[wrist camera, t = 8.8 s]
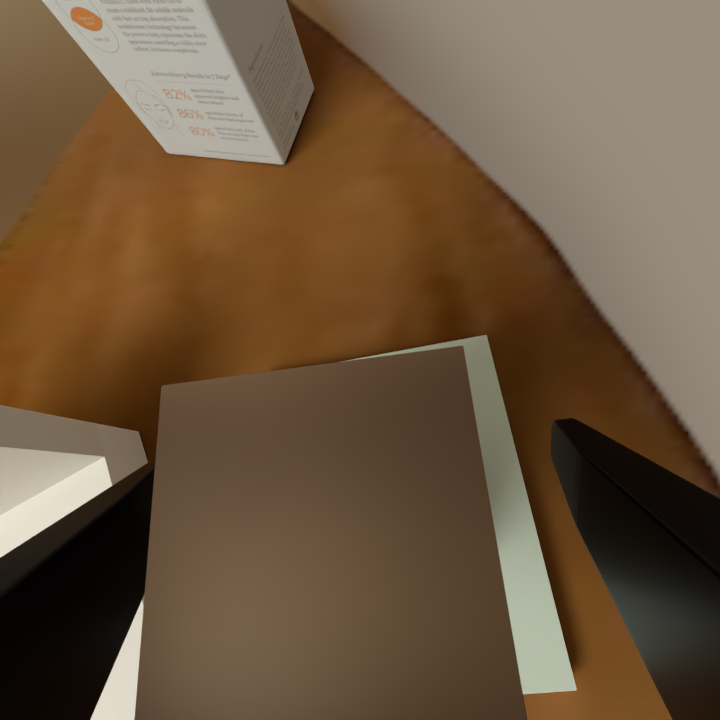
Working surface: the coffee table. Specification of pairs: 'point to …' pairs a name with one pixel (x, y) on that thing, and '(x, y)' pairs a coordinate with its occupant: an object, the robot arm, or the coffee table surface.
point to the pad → (514, 531)
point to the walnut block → (325, 550)
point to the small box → (200, 70)
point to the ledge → (67, 504)
